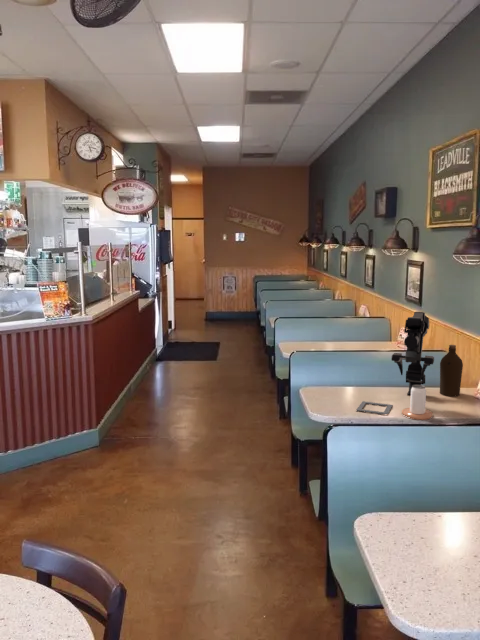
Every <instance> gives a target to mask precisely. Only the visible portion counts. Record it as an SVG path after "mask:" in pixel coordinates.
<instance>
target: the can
mask: <svg viewBox="0 0 480 640" xmlns="http://www.w3.org/2000/svg"><path fill="white" fill-rule="evenodd" d="M426 401H427V389H426V386H425V385H424V384H421V385H413V386H412V388H411V395H410V403H409V408H410V412H411V413H413V414H417V415H422V414H424V413H425V409H426V405H427V402H426Z"/></svg>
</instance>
